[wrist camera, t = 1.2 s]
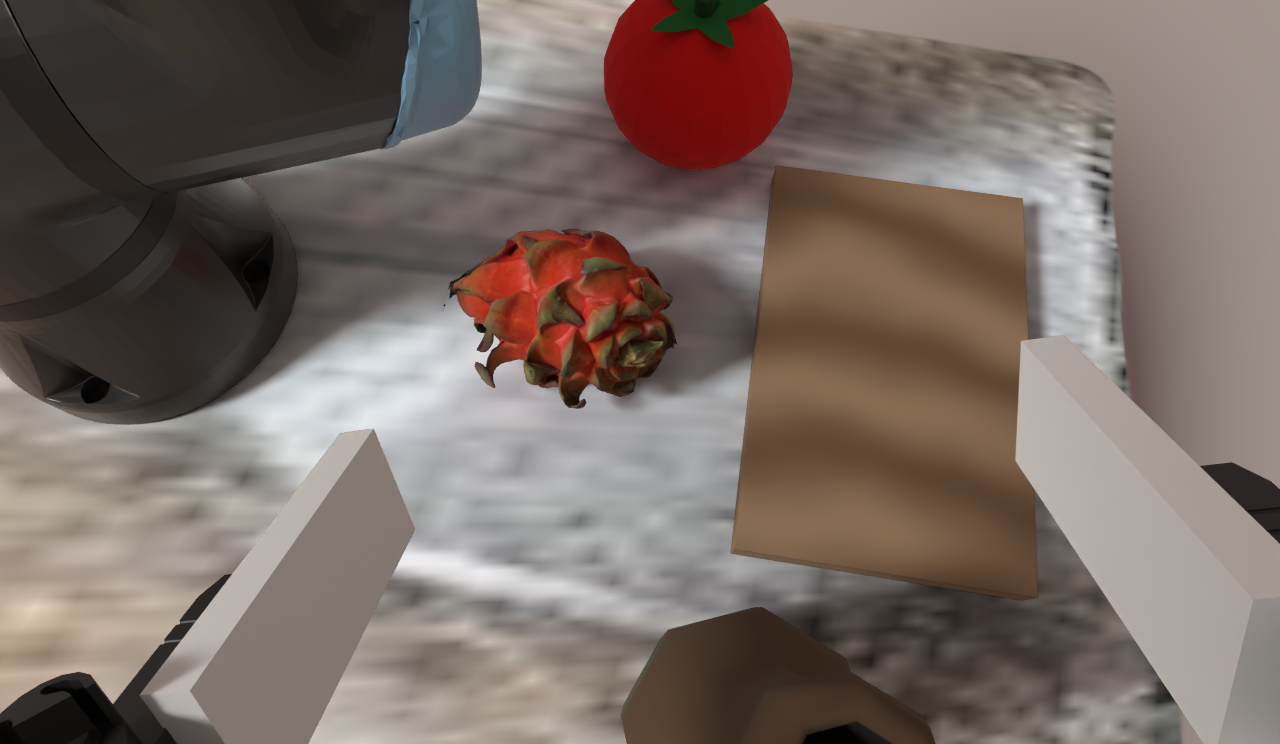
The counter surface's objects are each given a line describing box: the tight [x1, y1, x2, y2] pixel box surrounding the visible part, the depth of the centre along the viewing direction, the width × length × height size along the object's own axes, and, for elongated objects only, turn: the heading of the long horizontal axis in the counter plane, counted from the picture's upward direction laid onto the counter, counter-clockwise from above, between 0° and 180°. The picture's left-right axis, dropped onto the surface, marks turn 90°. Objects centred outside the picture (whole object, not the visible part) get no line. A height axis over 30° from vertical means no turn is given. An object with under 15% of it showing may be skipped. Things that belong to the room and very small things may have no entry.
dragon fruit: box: [444, 229, 677, 409], centre depth 38 cm, size 8×8×12 cm
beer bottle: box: [621, 607, 935, 744], centre depth 23 cm, size 8×8×24 cm
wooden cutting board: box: [731, 166, 1038, 600], centre depth 39 cm, size 22×14×2 cm, turn 171°
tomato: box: [604, 0, 793, 170], centre depth 41 cm, size 10×10×10 cm
